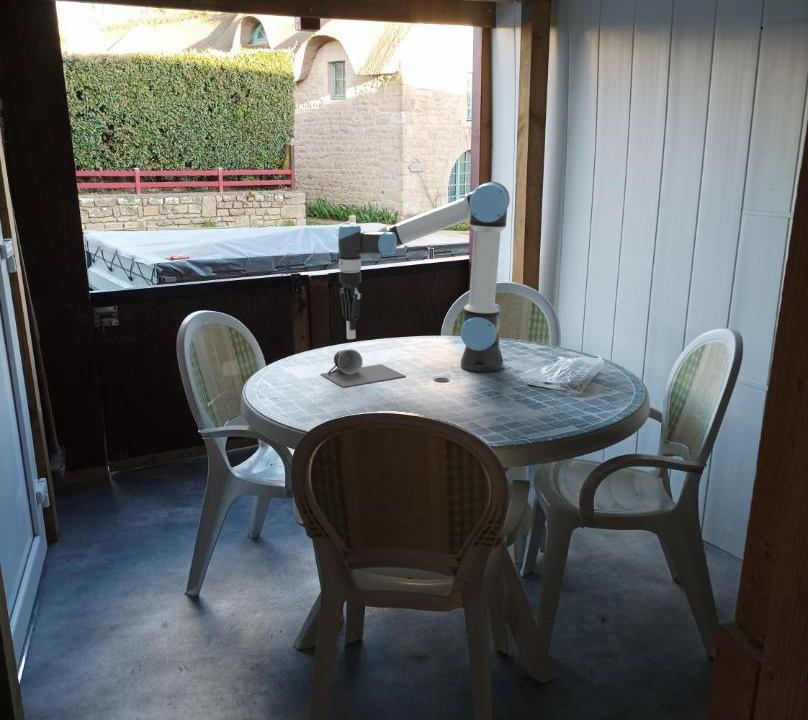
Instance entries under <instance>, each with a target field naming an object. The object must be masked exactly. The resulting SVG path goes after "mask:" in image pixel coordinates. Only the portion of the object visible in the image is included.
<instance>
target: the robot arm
mask: <svg viewBox="0 0 808 720" xmlns="http://www.w3.org/2000/svg"><path fill="white" fill-rule="evenodd" d="M510 201H511V200H510V193H509V191H508V189H507V188H506V187H505V185H503V184H501V183H500V182H497V181H489V182H485V183H482V184H480V185H477V187H476V188H475V189H474V190H472V191H469V192H467V193H465V195H464V197H462V198H460V199H458V200H455V201H452V202H450V203H446V204H444V205H442V206H439V207H436V208H434V209H431V210H429V211H426V212H423V213H420V214H417V215H415V216H413V217H410V218H407V219H405V220H402V221H399V222H398V223H397V222H396V223H395V224H392V225H389V226H385V227H383V228H381V229H379V230H377V231H363V230H362V229H361V226H360V225H358V224H342V225H339V226H338V237H337V241H338V242H337V244H338V245H337V246H338V263H337V264H338V270H339V272H338V281H339V283H340V284H342V288H339V289H338V292H339V295H340V303H341V304H340V305H341V312H342V317H343V318H344V319H345V320H346V325H345V326H346V339H347V340H354V339H356V335H357V334H356V321H357V320H358V321H359V318H360V312H361V301H362V299H363V293H360V292H359V286H358V284H360V283H362V272H361V270H362V255H381V256H388V255H389V256H390V255H392V256H393V255H394V254H395V253H396V251H397V248H398V247H400V246H402V245H404V244H407V243H410V242H413V241H416V240H418V239H422V238H424V237H426V236H429V235H432V234H434V233H437V232H440V231H443V230H446V229H447V228H451V227H453V226H456V225H459V224H461V223H464V222H468V221H469V226H470V227H471V228H472V229H473V239H472V240H473V241H472V254H471V267H470V282H469V283H470V284H469V292H468V293H469V294H468V302H467V304H466V305H464V306H463V315H462V325H461V327H460V330H459V331H460V337H461V340H462V342H463V344H464V345H465V348H464V349H463V353H462V357H461V359H460V367H461V369H463V368H464V369H463V370H465V371H469V370H470V371H469V372H474V371H477V372H476V373H492V372H493V371H494V372H498V371H500V370H503V368H504V358H503V355H502V352H501V349H500V329H501V328H500V327H501V326H500V325H501V313H502V311H501V305H499V304H497V303H495V302H496V294H497V293H496V291H497V279H498V270H499V269H498V267H499V266H498V265H499V255H500V244H501V243H500V242H501V232H502V231H503V230H504V229H505V228H506V227H507V217H508V216H507V215H508V208H509V205H510Z"/></svg>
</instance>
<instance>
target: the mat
mask: <svg viewBox="0 0 808 720" xmlns="http://www.w3.org/2000/svg"><path fill="white" fill-rule="evenodd" d="M320 376H321V377H323V376H324V377H323V378H325V379H327V380H329V381H330V380H331V381H330V382H333V383H334V384H335V383H336V385H337V384H338V385H337V386H339V385H340V386H339V387H341V388H342V387H345V388H348V387H347V386H351V387H355V386H354V385H356V386H361V385H360V384H362V385H366V383H368V384H373V382H374V383H378V382H379V381H380V382H384V380H385V381H391V380H396V379H403V378H406V377H407V376H406V375H405V374H403V373H401V372H399V371H397V370H394V369H392V368H390V367H388V366H386V365H384V364H382V363H380V364H374V365H373V364H372V365H367V366H361V368H360V370H359V371H358V372H357V373H355V374H350V375H349V374H345V373H343V372H342V371H341V370H336V371H335V372H333V373H331V374H328V372H323V373H320Z"/></svg>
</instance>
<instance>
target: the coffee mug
mask: <svg viewBox="0 0 808 720" xmlns="http://www.w3.org/2000/svg"><path fill="white" fill-rule="evenodd" d="M333 362H334V366H333V367H331V369H329V371H328V372H327V373H328V374H331V373H333V372H335V371H342V372H343V373H345V374H349V375H350V374H355V373H357V372H358V371H359V370H360V368H361V367H363V357H362V355H361V353H360V352H359V351H357V350H355V349H344V350H343V349H342V350H339V351H338V352H336V354H334V357H333ZM336 367H337V368H336ZM335 368H336V369H335Z"/></svg>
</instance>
